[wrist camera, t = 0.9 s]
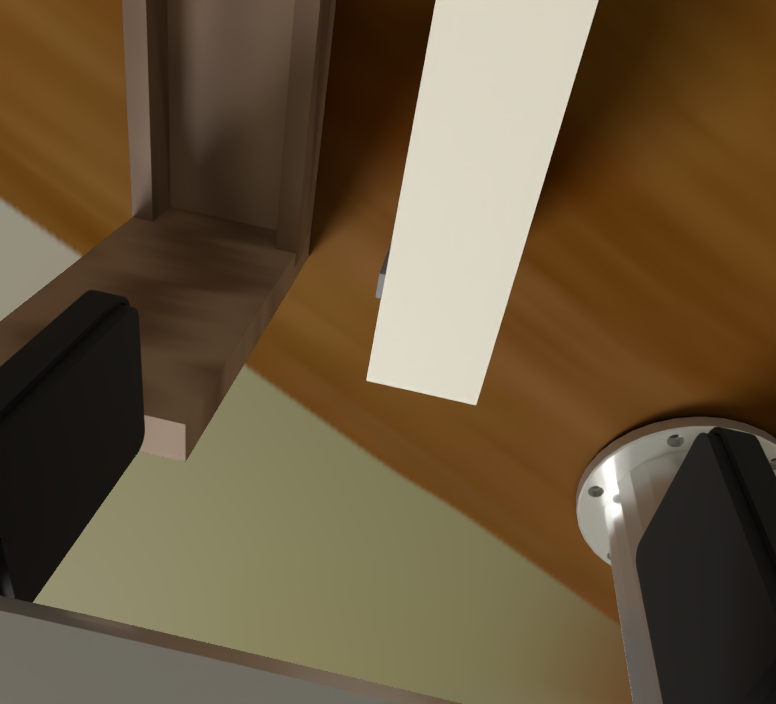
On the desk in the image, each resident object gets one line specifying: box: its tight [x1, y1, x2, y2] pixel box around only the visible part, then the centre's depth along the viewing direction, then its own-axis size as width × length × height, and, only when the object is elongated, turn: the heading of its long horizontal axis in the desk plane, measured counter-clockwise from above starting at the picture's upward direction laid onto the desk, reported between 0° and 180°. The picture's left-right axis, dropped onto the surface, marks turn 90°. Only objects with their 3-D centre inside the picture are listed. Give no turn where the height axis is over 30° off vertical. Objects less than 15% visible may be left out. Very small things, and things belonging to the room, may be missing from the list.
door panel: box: [366, 0, 599, 405], centre depth 25 cm, size 4×14×12 cm, turn 171°
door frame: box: [0, 0, 336, 462], centre depth 23 cm, size 8×20×16 cm, turn 171°
